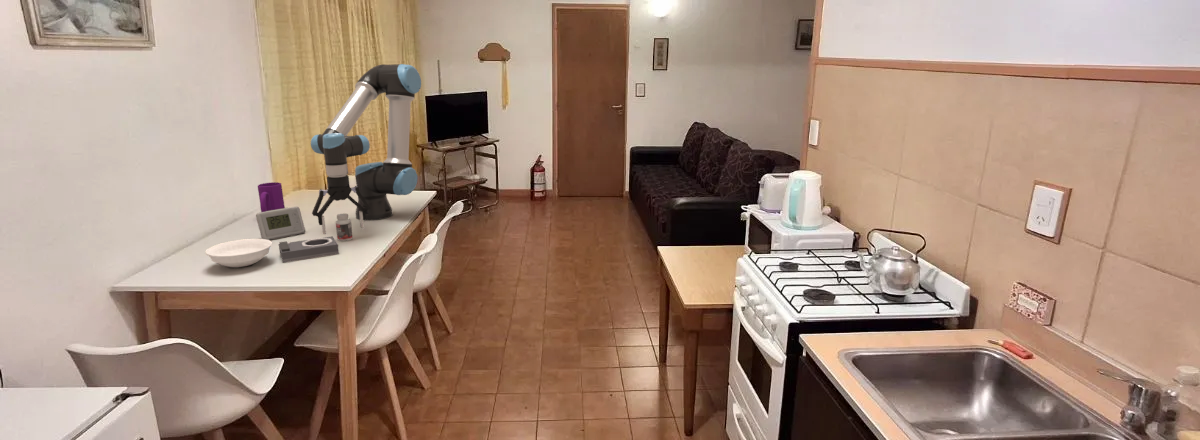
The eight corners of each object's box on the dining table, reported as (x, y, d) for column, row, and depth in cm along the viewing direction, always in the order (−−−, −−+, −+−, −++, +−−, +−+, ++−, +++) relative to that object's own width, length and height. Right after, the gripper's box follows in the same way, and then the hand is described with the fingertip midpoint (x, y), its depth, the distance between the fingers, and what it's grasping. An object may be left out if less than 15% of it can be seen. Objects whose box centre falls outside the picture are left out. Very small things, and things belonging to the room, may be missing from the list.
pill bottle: (335, 241, 240) (332, 216, 238) (340, 237, 246) (337, 213, 243) (350, 241, 241) (347, 216, 238) (354, 237, 246) (351, 212, 243)
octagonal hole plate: (333, 245, 236) (332, 234, 235) (338, 253, 226) (337, 242, 225) (279, 253, 227) (278, 241, 226) (282, 262, 217) (281, 250, 216)
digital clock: (260, 242, 241) (256, 215, 238) (258, 236, 248) (254, 210, 245) (307, 235, 249) (303, 209, 246) (303, 230, 256) (300, 204, 254)
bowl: (204, 278, 203) (200, 259, 201) (212, 260, 220) (209, 242, 219) (273, 269, 210) (270, 251, 209) (276, 252, 228) (273, 235, 226)
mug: (289, 215, 281) (284, 181, 277) (276, 224, 266) (271, 189, 262) (267, 216, 279) (261, 182, 276) (253, 225, 265) (247, 190, 261)
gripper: (370, 170, 246) (375, 224, 251) (299, 177, 234) (306, 232, 239) (374, 173, 240) (379, 228, 245) (302, 180, 228) (309, 237, 233)
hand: (343, 230), depth 242 cm, fingers open, 13 cm apart
